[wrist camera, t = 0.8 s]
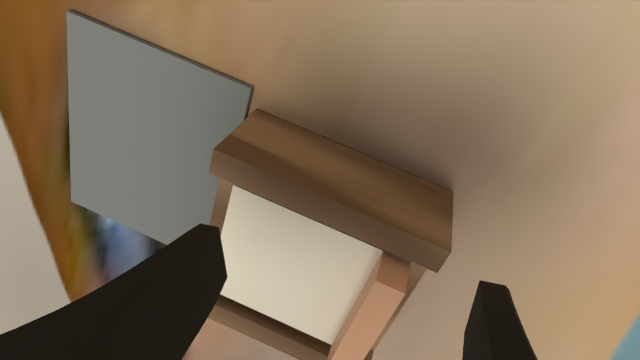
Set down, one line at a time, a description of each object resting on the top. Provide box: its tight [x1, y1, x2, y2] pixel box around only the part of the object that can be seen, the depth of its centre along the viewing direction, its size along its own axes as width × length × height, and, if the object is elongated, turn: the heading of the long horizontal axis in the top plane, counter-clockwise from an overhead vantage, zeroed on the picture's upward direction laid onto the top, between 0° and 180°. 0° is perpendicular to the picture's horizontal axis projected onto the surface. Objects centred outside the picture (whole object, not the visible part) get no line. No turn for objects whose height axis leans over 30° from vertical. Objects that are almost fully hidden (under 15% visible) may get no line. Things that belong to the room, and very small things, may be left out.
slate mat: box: [67, 10, 253, 245], centre depth 24 cm, size 12×10×1 cm
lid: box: [220, 184, 411, 360], centre depth 20 cm, size 7×8×3 cm
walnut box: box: [208, 109, 453, 360], centre depth 22 cm, size 10×10×4 cm
